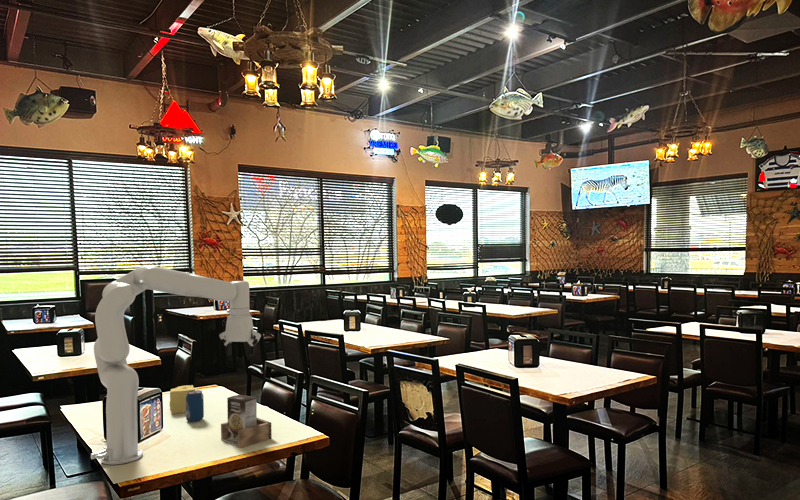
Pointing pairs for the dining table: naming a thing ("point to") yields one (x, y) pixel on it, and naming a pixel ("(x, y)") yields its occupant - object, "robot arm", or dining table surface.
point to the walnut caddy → (249, 433)
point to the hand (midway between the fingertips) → (240, 355)
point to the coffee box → (240, 414)
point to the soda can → (194, 406)
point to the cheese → (179, 398)
